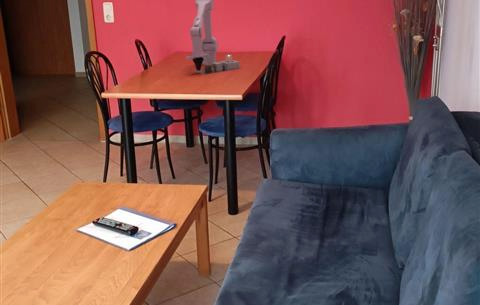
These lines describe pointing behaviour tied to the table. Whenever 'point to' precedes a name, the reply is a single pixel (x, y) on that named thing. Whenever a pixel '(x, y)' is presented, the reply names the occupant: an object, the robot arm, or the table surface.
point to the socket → (230, 65)
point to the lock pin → (209, 68)
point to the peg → (228, 58)
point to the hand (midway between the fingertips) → (198, 70)
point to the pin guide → (217, 66)
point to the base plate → (212, 71)
